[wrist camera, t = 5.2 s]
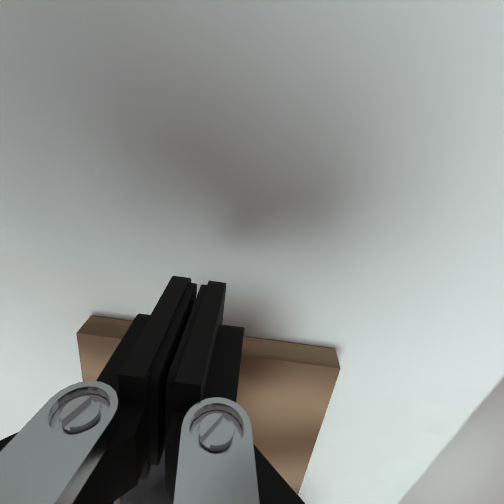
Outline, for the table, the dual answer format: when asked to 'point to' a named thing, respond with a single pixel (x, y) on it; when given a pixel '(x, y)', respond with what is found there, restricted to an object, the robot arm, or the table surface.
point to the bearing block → (253, 390)
